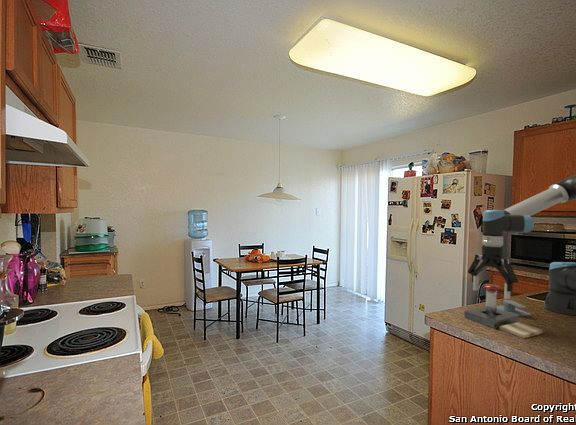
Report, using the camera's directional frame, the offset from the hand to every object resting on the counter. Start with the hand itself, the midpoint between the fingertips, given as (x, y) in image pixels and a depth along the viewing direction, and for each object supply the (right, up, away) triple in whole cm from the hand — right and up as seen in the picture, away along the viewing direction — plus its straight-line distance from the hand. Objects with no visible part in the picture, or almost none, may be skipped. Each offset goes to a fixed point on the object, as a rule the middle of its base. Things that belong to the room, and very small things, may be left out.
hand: (490, 294), depth 134 cm
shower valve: (+16, -12, +10) cm, 22 cm away
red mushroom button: (0, -11, 0) cm, 11 cm away
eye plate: (0, -11, 0) cm, 11 cm away
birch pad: (+4, -12, -12) cm, 17 cm away
